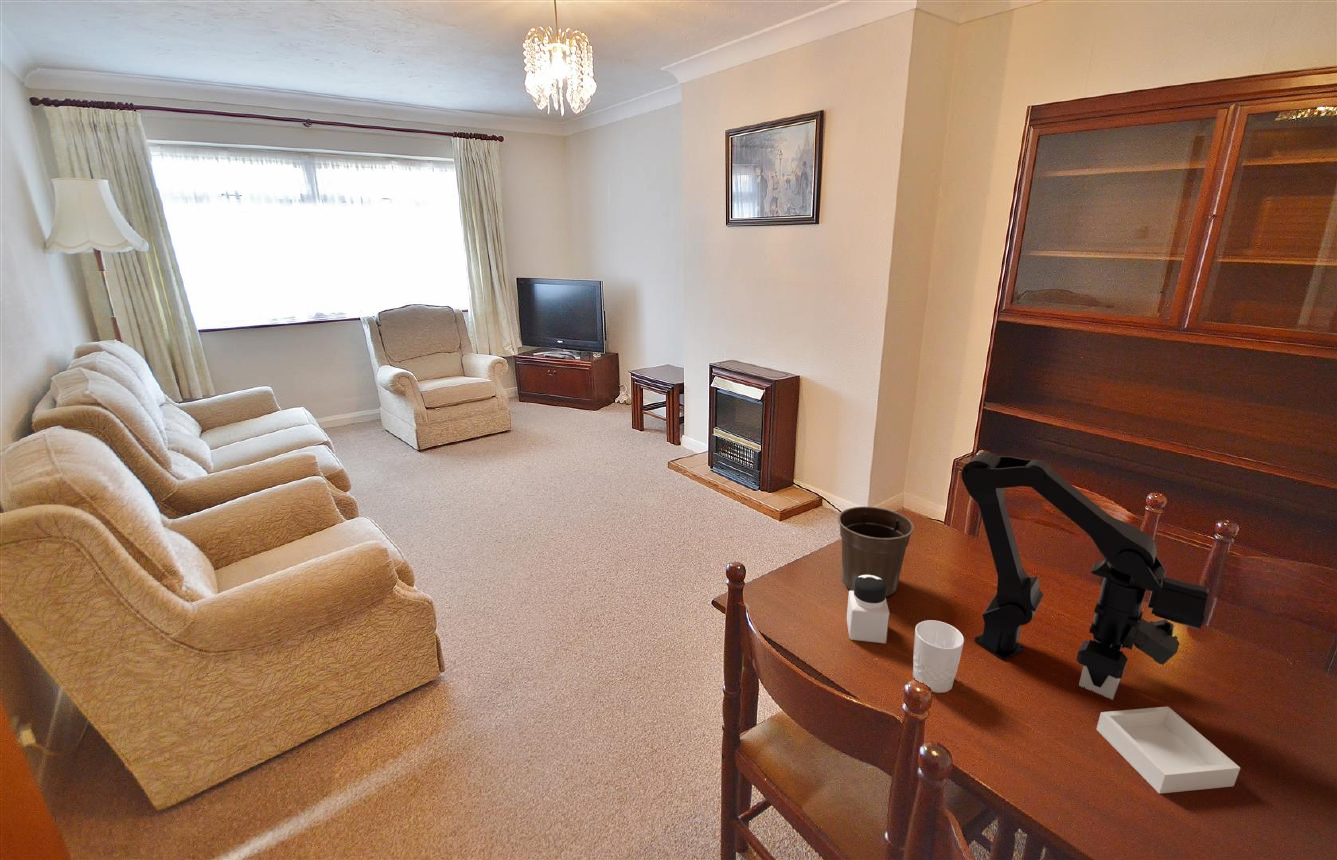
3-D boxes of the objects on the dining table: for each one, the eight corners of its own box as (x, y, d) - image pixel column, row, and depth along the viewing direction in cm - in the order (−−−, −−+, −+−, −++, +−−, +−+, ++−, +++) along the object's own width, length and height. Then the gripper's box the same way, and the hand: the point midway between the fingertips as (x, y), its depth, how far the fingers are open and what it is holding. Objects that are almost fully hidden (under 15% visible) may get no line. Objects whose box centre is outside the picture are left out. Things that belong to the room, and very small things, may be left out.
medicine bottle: (886, 644, 116) (892, 592, 112) (849, 640, 117) (854, 588, 113) (881, 622, 122) (887, 572, 118) (846, 618, 124) (850, 569, 120)
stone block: (1112, 700, 101) (1120, 671, 99) (1078, 685, 104) (1085, 658, 102) (1118, 685, 104) (1125, 657, 102) (1085, 671, 107) (1091, 644, 106)
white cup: (953, 670, 108) (961, 624, 105) (958, 700, 101) (966, 652, 98) (908, 661, 111) (914, 616, 108) (910, 690, 104) (916, 643, 101)
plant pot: (847, 558, 147) (852, 499, 142) (914, 577, 138) (922, 516, 133) (822, 588, 134) (827, 526, 129) (894, 612, 125) (902, 546, 120)
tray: (1233, 786, 85) (1240, 767, 84) (1159, 793, 84) (1165, 775, 83) (1162, 723, 96) (1168, 706, 95) (1096, 729, 95) (1100, 712, 94)
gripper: (1174, 652, 87) (1149, 734, 92) (1188, 598, 99) (1165, 673, 104) (1085, 620, 95) (1066, 697, 99) (1108, 574, 107) (1091, 644, 112)
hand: (1100, 678), depth 104 cm, fingers open, 5 cm apart
